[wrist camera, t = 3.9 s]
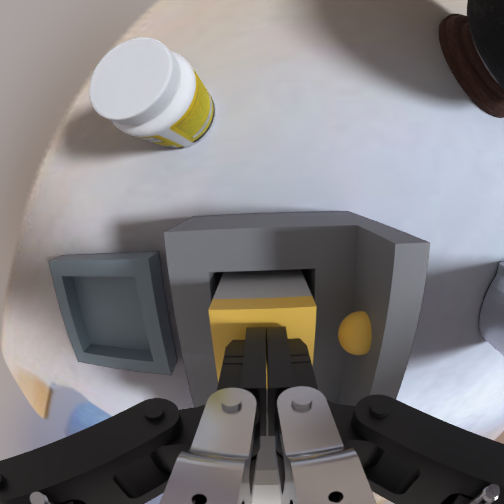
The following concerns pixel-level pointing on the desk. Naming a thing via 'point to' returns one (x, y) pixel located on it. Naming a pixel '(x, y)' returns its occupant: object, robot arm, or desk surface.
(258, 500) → the block
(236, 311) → the block
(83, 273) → the square tray
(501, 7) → the spherical smart speaker
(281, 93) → the desk surface
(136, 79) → the supplement bottle
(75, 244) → the desk surface
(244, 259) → the box
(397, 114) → the desk surface
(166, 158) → the desk surface
